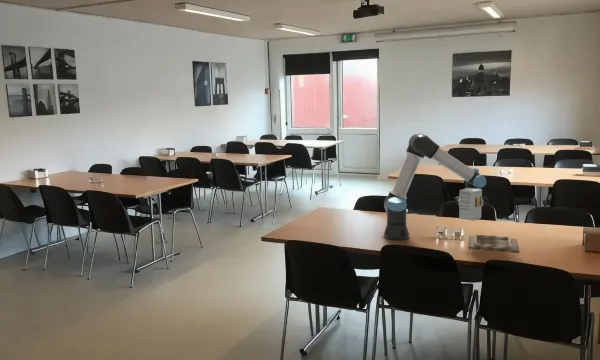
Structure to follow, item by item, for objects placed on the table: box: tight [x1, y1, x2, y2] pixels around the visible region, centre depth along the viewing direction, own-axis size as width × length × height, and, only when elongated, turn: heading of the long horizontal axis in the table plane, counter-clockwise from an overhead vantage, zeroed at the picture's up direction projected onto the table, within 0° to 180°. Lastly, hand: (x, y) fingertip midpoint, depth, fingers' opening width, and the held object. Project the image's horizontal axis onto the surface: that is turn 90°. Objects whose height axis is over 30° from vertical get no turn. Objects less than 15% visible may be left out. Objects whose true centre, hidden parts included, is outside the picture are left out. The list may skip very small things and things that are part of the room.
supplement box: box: [458, 187, 483, 222], centre depth 290 cm, size 10×9×17 cm
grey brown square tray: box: [467, 234, 519, 253], centre depth 291 cm, size 26×24×2 cm
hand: (470, 203), depth 289 cm, fingers closed on supplement box, 12 cm apart
